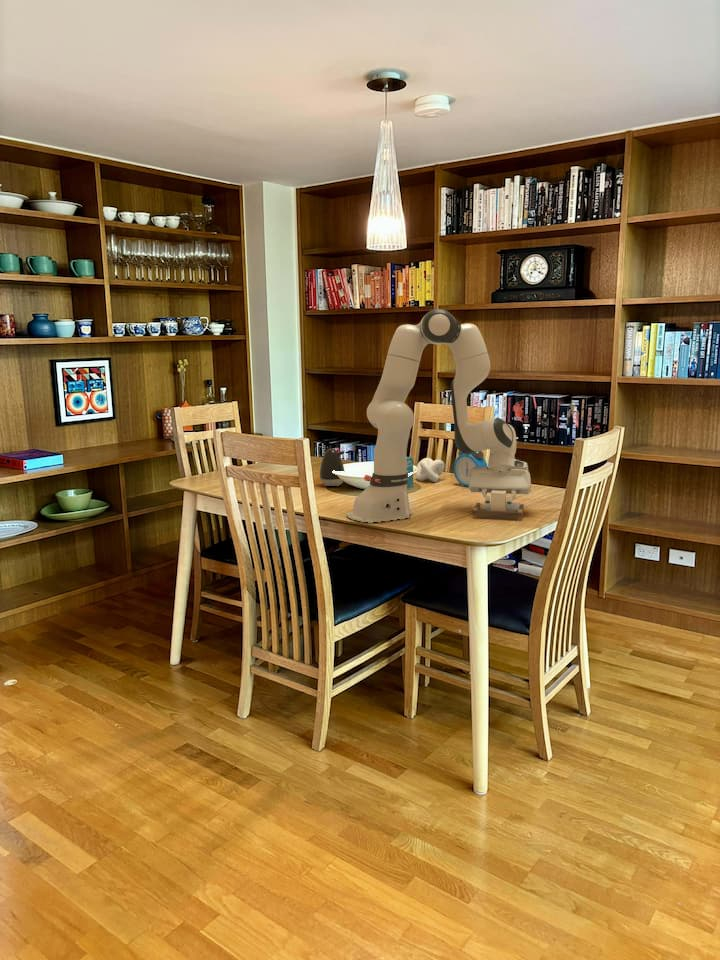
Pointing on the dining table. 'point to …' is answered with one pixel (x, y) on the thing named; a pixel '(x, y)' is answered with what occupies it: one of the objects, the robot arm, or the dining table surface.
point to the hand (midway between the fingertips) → (498, 502)
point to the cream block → (498, 500)
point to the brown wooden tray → (497, 514)
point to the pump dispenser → (331, 467)
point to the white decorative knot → (429, 469)
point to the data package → (410, 469)
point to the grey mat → (508, 506)
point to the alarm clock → (467, 466)
